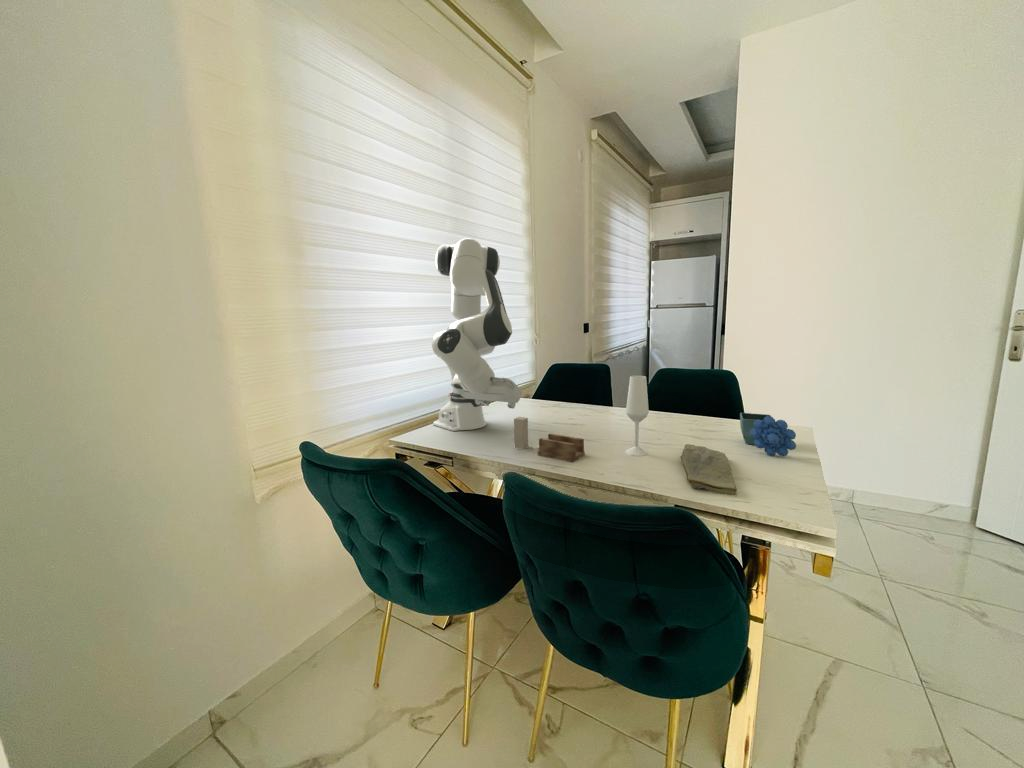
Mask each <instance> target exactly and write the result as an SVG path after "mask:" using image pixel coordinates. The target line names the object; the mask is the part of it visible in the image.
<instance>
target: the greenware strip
mask: <svg viewBox="0 0 1024 768" xmlns="http://www.w3.org/2000/svg"><path fill="white" fill-rule="evenodd" d="M513 434H514V438H513V439H514V449H519V450H525V449H527V448H528V447H529V418H528V417H523V416H516V417H515V418H513Z"/></svg>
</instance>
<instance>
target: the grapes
mask: <svg viewBox="0 0 1024 768" xmlns="http://www.w3.org/2000/svg"><path fill="white" fill-rule="evenodd" d="M788 425H789V424H788V423H787V421H785V420H784V419H777V420H775V418H774V417H773V416H772V415H771V416H766V417H765V418H764V422H763V421H762V420H759V419H758V420H755V421H754V426H755V428H753V429H751V430H750V435H751V436H752V437H753V438H756V439H755V441H754V444H755V447H756V448H757V449H760V450H762V449H764V452H765V454H766V455H768V456H771V457H772V456H775V455H776V454H778V455H779V456H781V457H786V456H788V454H789V451H793V450H795V449H796V448H797V443H796V442H795V441H794V440H795V439H796V437H797V435H796V432H795V431H794V430H793V429H790V428H788V427H789V426H788ZM754 444H753V445H754Z"/></svg>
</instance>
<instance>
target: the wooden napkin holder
mask: <svg viewBox="0 0 1024 768" xmlns="http://www.w3.org/2000/svg"><path fill="white" fill-rule="evenodd" d="M538 441H539V442H538V447H539V448H538V449H539V450H538V455H537V456H541V457H545V458H549V457H550V458H549V459H555V460H559V461H564V460H565V461H564V462H570V463H574V461H575V462H576V461H577V460H579V459H580V458H582V457H583V456H584V455H585V439H584V438H580V437H575V436H574V437H573V436H569V435H563V434H556V433H548V434H547V438H543V437H539V439H538Z"/></svg>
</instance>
